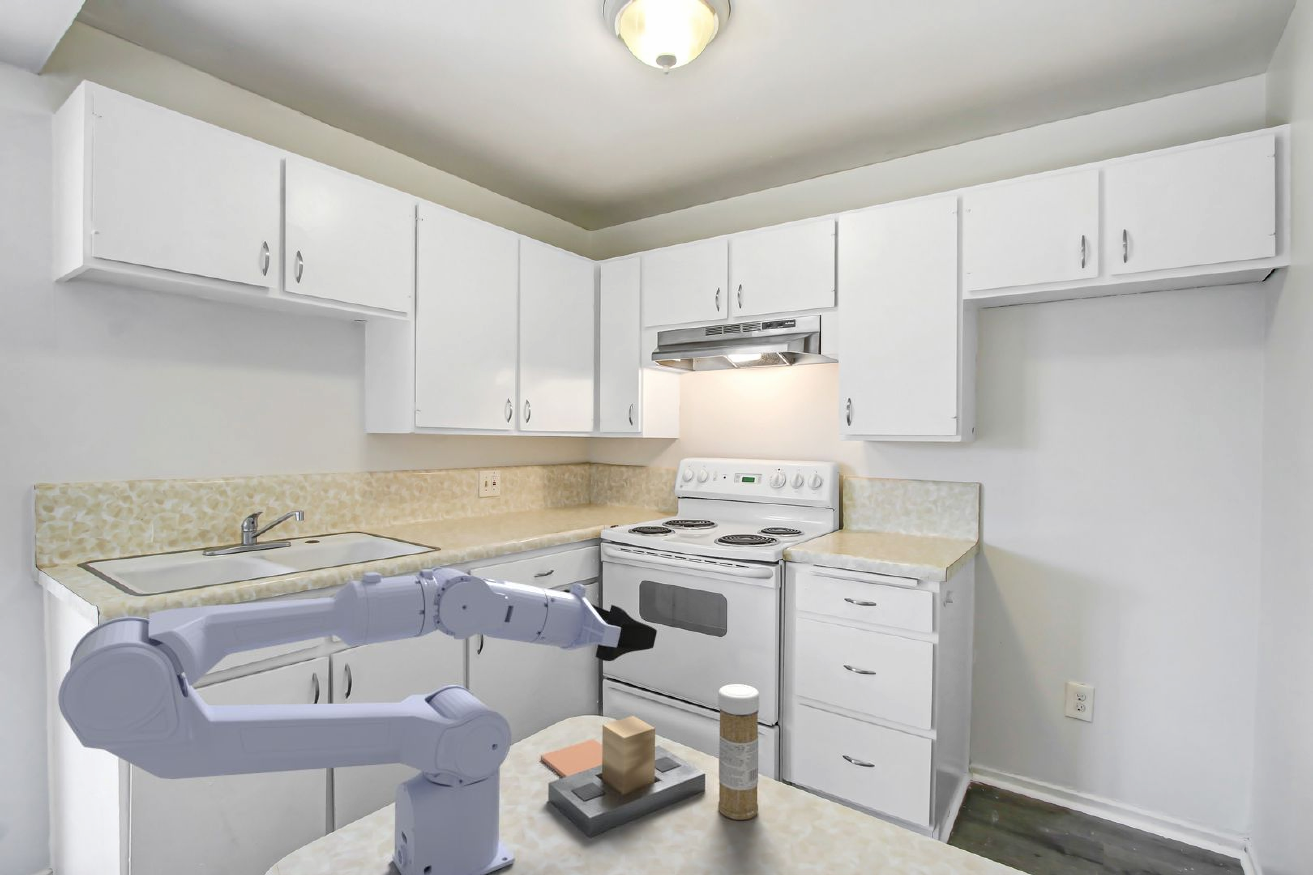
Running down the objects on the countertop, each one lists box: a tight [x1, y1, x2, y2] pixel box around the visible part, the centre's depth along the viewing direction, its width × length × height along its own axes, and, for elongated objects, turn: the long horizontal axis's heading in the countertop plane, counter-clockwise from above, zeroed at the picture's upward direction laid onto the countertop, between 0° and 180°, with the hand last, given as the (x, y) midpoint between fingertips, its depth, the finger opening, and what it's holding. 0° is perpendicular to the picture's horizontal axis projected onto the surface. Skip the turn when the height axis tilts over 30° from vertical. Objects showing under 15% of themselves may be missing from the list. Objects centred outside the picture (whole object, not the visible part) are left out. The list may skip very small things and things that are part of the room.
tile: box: [540, 739, 602, 778], centre depth 85 cm, size 8×8×1 cm
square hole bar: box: [547, 745, 706, 838], centre depth 77 cm, size 16×9×2 cm, turn 127°
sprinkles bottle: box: [717, 683, 760, 821], centre depth 74 cm, size 5×5×14 cm
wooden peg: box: [601, 715, 656, 795], centre depth 77 cm, size 4×4×8 cm
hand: (633, 630), depth 78 cm, fingers open, 7 cm apart
